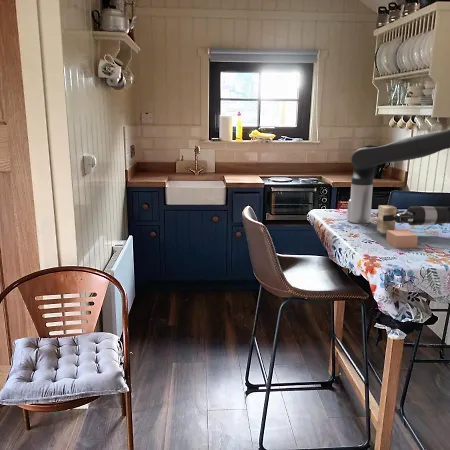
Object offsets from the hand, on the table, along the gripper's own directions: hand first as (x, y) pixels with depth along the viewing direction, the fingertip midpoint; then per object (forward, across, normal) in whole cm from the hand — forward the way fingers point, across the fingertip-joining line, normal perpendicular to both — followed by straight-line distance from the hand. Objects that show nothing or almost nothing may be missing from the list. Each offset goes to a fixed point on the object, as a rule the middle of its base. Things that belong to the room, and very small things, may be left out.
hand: (380, 216), depth 180 cm
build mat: (-3, +7, +8) cm, 11 cm away
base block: (-3, +13, +8) cm, 15 cm away
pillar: (-3, 0, +6) cm, 7 cm away
